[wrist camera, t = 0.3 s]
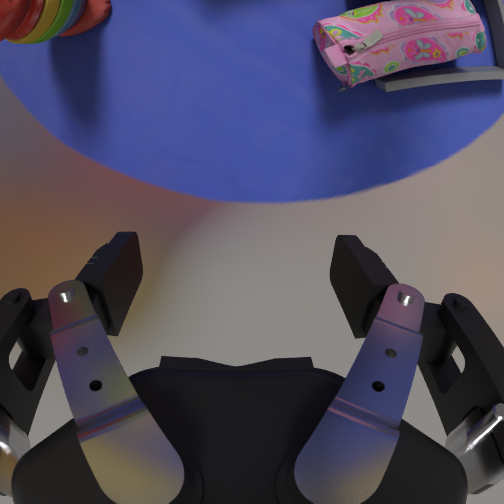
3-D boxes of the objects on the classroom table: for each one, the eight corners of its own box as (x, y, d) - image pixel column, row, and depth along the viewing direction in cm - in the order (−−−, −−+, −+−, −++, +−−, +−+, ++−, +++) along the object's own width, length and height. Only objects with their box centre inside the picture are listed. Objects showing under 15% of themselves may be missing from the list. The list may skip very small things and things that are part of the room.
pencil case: (329, 86, 31) (349, 102, 24) (297, 23, 25) (309, 19, 19) (459, 50, 24) (500, 62, 17) (438, -8, 18) (478, -10, 12)
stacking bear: (116, 12, 23) (22, 17, 10) (60, 53, 25) (-34, 88, 12) (93, -40, 16) (1, -53, 3) (39, 2, 19) (-54, 20, 5)
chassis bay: (343, -11, 21) (352, -15, 19) (485, -9, 15) (500, -8, 12) (376, 86, 30) (386, 92, 27) (502, 73, 23) (516, 79, 21)
